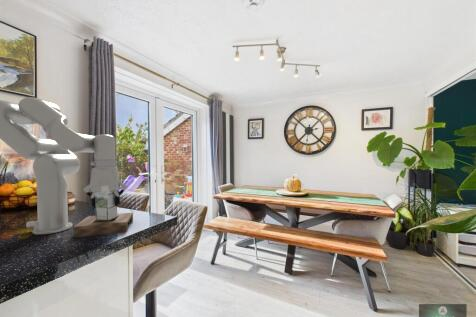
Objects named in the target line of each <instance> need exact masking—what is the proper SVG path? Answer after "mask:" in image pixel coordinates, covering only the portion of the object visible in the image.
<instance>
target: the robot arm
mask: <svg viewBox="0 0 476 317" xmlns="http://www.w3.org/2000/svg"><path fill="white" fill-rule="evenodd" d="M68 123H69V122H68V118H67V117H66V116H65V115H64V114H63V113H62V111H61V108H60V107H59V106H58V105H57V104H55V103H54V102H51V101H48V100H44V99H41V98H38V97H33V96H28V97H23V98H22V99H21V100H19V103H15V102H11V101H7V100H3V99H2V100H1V99H0V140H1V141H2V142H4V143H5V144H6V145H7V146H8V147H10V149H12V151H14V152H16V154H18V155H19V156H20V157H22V158H23V159H25V160H28V161H30V160H32V161H33V163H32V169H33V174H34V177H35V182H36V200H37V201H36V202H37V203H36V207H37V208H36V209H37V210H36V211H37V220H35V221H33V220H32V221H27V222H26V223H25V224H26V225H25V226H26V228H33V229H32V234H33V235H40V236H41V235H49V234H54V233H55V234H56V233H60V232H64V231H67V230H68V229H71V228H73V222H69V215H68V214H69V213H68V210H69V209H68V185H67V181H66V179H65V178H64V176H69V175H74V174H76V173H78V172H79V170H80V168H81V161H80V158H78V157H77V155H75V153H88V154H89V153H90V154H91V153H93V159H94V160H93V161H90V166H93V168H91V173H90V183H89V184H88V185H86V186H85V187H83V188H82V191H83V192H84V193H86V195H87V196H88V197H89V198H91V206H93V207H92V208H93V209H96V205H95V192H101V186H107V185H109V191H110V192H111V191H113V192H114V193H115V195H116V197H115V206H117V207H118V206H119V204H120V203H121V195H122V194H123V193H125V191H126V190H127V188H128V185H127V184H125V183H123V182H122V181H121V180H120V173H119V169H118V166H116V163H117V162H116V139H115V136H114V135H111V134H96V135H91V134H85V133H78V132H76V131H74V130H73V129H71V128H70V127H68V126H67V125H68ZM35 124H37V125H39V126H41V127H42V128H43V129H45V130H46V131H47V134H48V135H49V136H50V137H49V138H43V137H38V136H35V135H34V134H32V133H31V132H30V131H29V130H27V129H26V128H25V127H24V126H21V125H35ZM121 187H122V188H121ZM120 188H121V190H119V189H120Z"/></svg>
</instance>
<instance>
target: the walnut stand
mask: <svg viewBox="0 0 476 317" xmlns="http://www.w3.org/2000/svg"><path fill="white" fill-rule="evenodd" d="M133 222H134V212H124V213H121V212H120V213H117V217H116V218H113V219H111V220H96V215H87V216H86V217H85V218H84V219H82V220H81V221H79V222H78V223H77V224H75V225H74V226H72V230H73V231H72V232H73V233H72V235H73V238H81V237H83V238H84V237H93V236H101V235H110V234H120V233H127V232H128V231H129V229H128V228H129V227H128V225H129V223H133Z"/></svg>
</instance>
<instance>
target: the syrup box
mask: <svg viewBox="0 0 476 317" xmlns="http://www.w3.org/2000/svg"><path fill="white" fill-rule="evenodd" d="M115 197H116V195H115V193H114V192H113V191H111V192H110V191H109V185H107V186H101V192H95V205H96V208H95V216H96V220H111V219H113V218H116V217H117V214H118V206H115Z"/></svg>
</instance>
